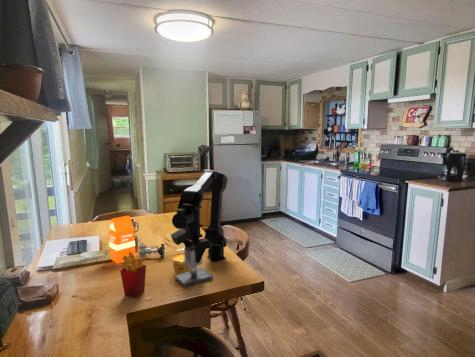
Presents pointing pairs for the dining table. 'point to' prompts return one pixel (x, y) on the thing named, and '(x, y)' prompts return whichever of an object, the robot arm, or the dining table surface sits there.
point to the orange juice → (121, 238)
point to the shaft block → (193, 277)
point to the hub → (190, 257)
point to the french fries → (133, 276)
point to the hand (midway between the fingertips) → (193, 259)
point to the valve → (149, 250)
